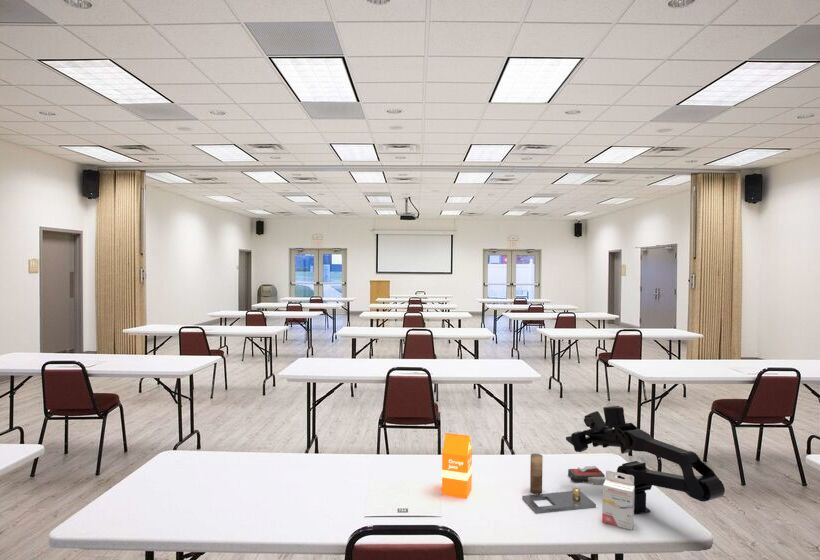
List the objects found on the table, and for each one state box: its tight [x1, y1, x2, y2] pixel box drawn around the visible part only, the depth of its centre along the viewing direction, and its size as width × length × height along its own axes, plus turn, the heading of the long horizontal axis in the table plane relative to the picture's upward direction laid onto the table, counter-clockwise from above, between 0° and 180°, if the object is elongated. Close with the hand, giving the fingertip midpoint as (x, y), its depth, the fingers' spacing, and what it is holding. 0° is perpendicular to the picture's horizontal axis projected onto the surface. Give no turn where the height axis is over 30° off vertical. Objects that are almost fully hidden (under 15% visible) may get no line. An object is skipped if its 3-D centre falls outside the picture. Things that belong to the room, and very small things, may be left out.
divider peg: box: [529, 453, 543, 495], centre depth 167 cm, size 4×4×12 cm
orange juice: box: [441, 432, 473, 499], centre depth 167 cm, size 8×9×20 cm
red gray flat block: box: [567, 465, 606, 485], centre depth 177 cm, size 9×4×20 cm
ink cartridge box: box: [601, 470, 635, 531], centre depth 147 cm, size 9×5×15 cm, turn 59°
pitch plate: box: [521, 487, 597, 514], centre depth 159 cm, size 10×21×4 cm, turn 101°
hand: (574, 435), depth 178 cm, fingers open, 9 cm apart
